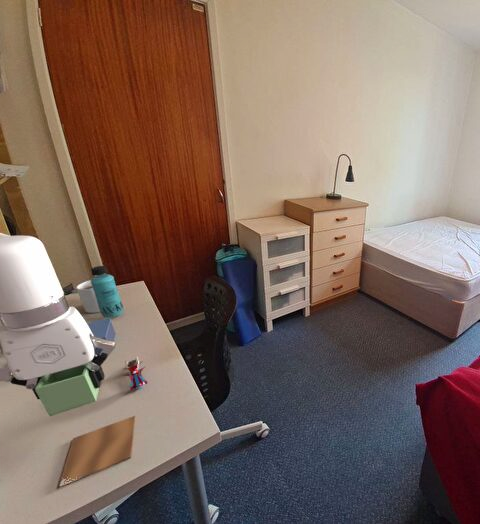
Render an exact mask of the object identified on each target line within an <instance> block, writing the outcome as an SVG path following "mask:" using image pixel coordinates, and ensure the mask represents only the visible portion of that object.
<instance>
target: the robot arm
mask: <svg viewBox="0 0 480 524" xmlns="http://www.w3.org/2000/svg"><path fill="white" fill-rule="evenodd" d="M0 323H1V326H0V346H1V349H2V353H3V357H4V359H5V361H6V362H5V363H4V364H3V365H2V366H1V368H0V381H2V382H6V383H9V382H10V383H11V385H17V386H23V387H25V388H26V390H32V392H33V394H34V397H36V400H40V398H39V396H38V394H37V392H36V391H35V388H36V386H37V384H38V382H39V381H40V379H41V377H42V376H45V375H49V374H52V373H56V372H60V371H63V370H67V369H71V368H74V367H78V366H81V365H84V366H85V367H87V368H88V369H90V371H89V376H90V378H91V381H92V383H93V385H94V388H96V389H97V388H99V389H100V388H101V385H102V381H104V380H105V376H106V375H105V372H104V370H103V367H102V365H103V364H104V362H105V361H106V360H107V358H108V357H109V356H110V355H111V353H113V351H114V349H115V348H116V342H115V341H114V342H112V341H108V340H105V339H101V338H98V337H94V336H93V334H92V332H91V330H90V328H89V326H88V325H87V323H88V322H86V320H85V319H84V317H83V316H82V314H81V313H80V312H79V310H77V309H76V307H75V306H70V305H69V302H68V300H67V297H66V295H65V292H64V290H63V288H62V286H61V283H60V280H59V278H58V276H57V274H56V271H55V268H54V266H53V264H52V261H51V259H50V257H49V255H48V252H47V250H46V248H45V245H44V243H43V242H42V241H41V240H40V239H38V238H37V237H35V236H32V235H9V234H5V233H3V232H0ZM96 347H97V348H101V349H103V350H102V351H101V352H100V353H99V354H98V356H97V355H96V354H95V353H94V349H95V348H96Z"/></svg>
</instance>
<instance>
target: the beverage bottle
mask: <svg viewBox="0 0 480 524" xmlns="http://www.w3.org/2000/svg"><path fill="white" fill-rule="evenodd" d="M90 271H91V275H92V276H93V277H92V278H91V279H90V280H91V281H90V280H89V281H90V282H91V284H92V287H93V290H94V293H95V297H96V299H97V302H98V303H97V304H98V306H99V309H100V312H99V313H100V314H101V316H102V317H103V318H104V319H108V318H111V319H112V318H115V317H117V316H120V315H122V314H123V313H124V305H123V302H122V300H121V296H120V293H119V291H118V290H119V289H118V288H117V285H116V281H115V277H114V276H113V275H111V274H109V273H108V272H109V270H108V269H107V266H105V265H98V266H94V267H91V269H90Z"/></svg>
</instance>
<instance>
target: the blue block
mask: <svg viewBox="0 0 480 524" xmlns="http://www.w3.org/2000/svg"><path fill="white" fill-rule="evenodd" d="M86 323H87V325H88V326H89V328H90V330H91V332H92V334H93V336H94V337H98V338H101V339H105V340H108V341H112V342H115V338H116V331H115V328H114V325H113V323H112V317H111V318H104V319H99V320H95V321H89V322H86ZM102 350H103V349H101V348H97V347H96V348H95V349H94V353H95V354H96V355H97V356H98V354H99V353H100V352H101V351H102Z"/></svg>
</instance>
